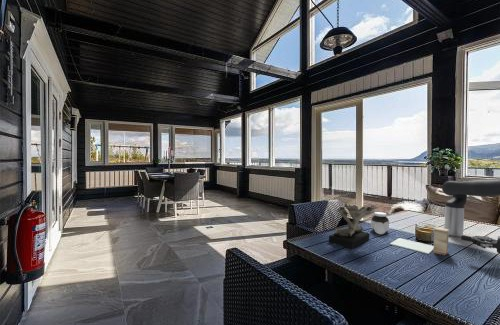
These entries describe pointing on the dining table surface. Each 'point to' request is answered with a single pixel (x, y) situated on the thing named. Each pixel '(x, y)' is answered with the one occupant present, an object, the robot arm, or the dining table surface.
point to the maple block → (441, 241)
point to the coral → (351, 227)
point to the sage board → (413, 245)
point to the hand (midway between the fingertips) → (461, 237)
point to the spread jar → (380, 222)
